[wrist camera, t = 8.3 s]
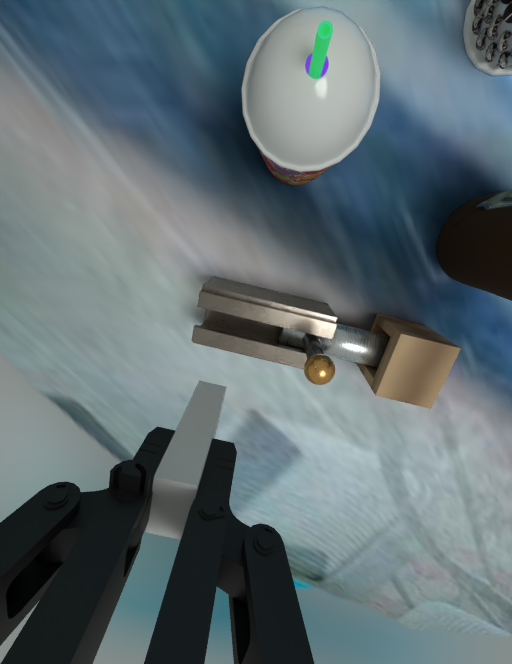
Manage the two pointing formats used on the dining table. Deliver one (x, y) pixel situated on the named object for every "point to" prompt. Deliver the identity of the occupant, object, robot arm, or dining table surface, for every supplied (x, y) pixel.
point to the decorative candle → (489, 36)
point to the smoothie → (310, 92)
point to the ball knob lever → (335, 349)
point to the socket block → (410, 362)
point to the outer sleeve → (258, 320)
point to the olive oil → (480, 244)
